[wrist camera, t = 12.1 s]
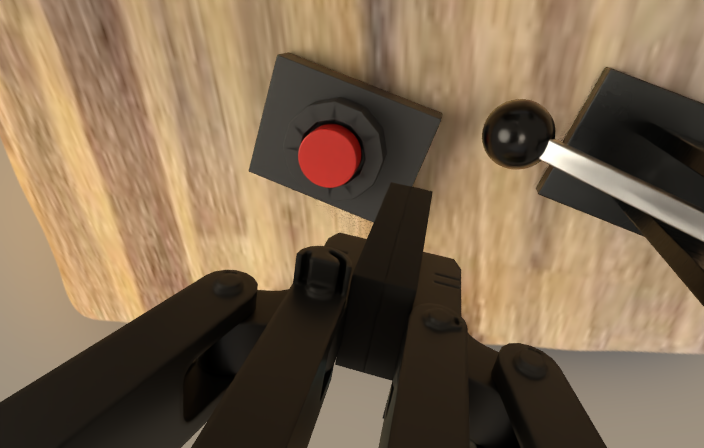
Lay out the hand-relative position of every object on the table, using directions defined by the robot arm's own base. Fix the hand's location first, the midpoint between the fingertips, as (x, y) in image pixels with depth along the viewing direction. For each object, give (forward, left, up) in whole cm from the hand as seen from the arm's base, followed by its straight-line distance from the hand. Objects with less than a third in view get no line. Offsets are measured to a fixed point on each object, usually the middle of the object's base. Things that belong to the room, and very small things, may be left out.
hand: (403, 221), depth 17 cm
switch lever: (+9, +5, -9) cm, 14 cm away
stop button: (-4, -5, -15) cm, 16 cm away
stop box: (-4, -5, -18) cm, 20 cm away
